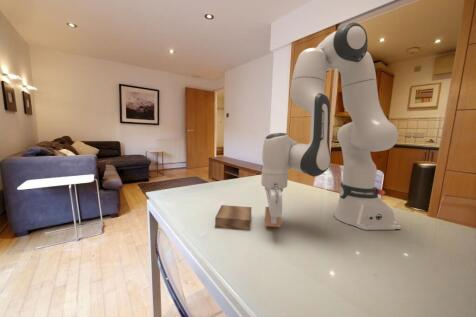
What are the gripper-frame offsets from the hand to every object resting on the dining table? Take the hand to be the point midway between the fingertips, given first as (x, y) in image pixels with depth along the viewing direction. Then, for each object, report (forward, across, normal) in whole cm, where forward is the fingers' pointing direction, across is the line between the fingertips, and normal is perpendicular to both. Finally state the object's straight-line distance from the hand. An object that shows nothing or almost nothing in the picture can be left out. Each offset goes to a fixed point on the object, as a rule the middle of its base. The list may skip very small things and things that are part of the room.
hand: (272, 218), depth 72 cm
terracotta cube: (+2, 0, 0) cm, 2 cm away
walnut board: (+3, +2, +14) cm, 14 cm away
